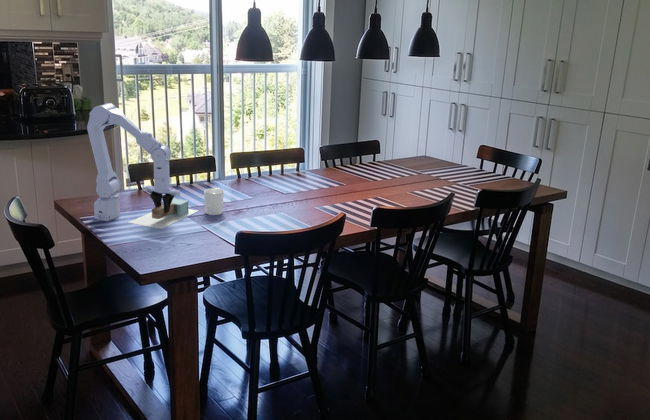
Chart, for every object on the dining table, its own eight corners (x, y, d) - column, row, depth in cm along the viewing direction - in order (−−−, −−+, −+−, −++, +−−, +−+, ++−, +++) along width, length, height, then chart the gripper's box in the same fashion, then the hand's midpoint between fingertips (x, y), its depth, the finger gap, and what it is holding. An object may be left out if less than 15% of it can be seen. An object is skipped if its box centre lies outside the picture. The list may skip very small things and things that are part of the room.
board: (161, 230, 225) (161, 228, 225) (127, 224, 230) (127, 222, 229) (198, 212, 248) (198, 210, 248) (167, 207, 253) (167, 205, 253)
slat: (158, 219, 229) (158, 210, 228) (152, 217, 230) (151, 209, 229) (173, 212, 238) (173, 203, 237) (167, 211, 239) (167, 202, 238)
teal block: (180, 216, 239) (179, 204, 238) (165, 214, 242) (164, 202, 240) (188, 212, 245) (188, 200, 243) (173, 210, 247) (173, 198, 245)
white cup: (214, 210, 252) (214, 187, 250) (227, 214, 248) (227, 191, 245) (200, 214, 247) (199, 190, 244) (212, 218, 242) (212, 194, 239)
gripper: (184, 177, 231) (184, 211, 235) (152, 172, 235) (153, 206, 239) (173, 181, 224) (174, 216, 228) (140, 176, 229) (142, 210, 233)
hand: (162, 211), depth 234 cm, fingers closed on slat, 3 cm apart
